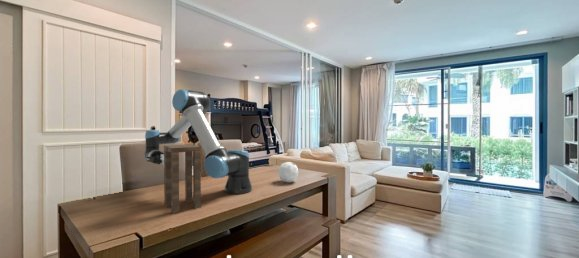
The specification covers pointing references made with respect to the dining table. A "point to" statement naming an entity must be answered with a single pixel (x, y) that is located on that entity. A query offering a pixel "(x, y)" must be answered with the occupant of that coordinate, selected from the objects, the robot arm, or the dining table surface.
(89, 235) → the dining table surface
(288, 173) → the geodesic sphere
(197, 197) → the plant stand
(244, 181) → the robot arm
